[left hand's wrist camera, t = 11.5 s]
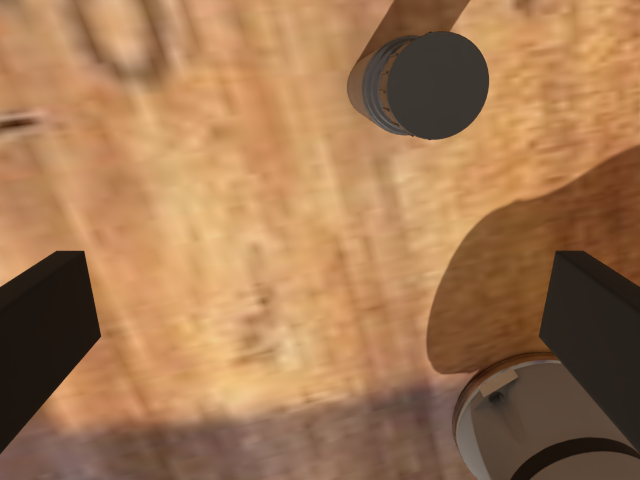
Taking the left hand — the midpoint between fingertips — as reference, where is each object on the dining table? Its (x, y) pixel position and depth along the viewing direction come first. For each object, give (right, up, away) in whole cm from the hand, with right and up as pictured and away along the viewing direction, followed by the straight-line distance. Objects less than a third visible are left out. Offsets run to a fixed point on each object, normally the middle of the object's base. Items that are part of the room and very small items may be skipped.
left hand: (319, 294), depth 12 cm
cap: (+4, +7, +4) cm, 9 cm away
